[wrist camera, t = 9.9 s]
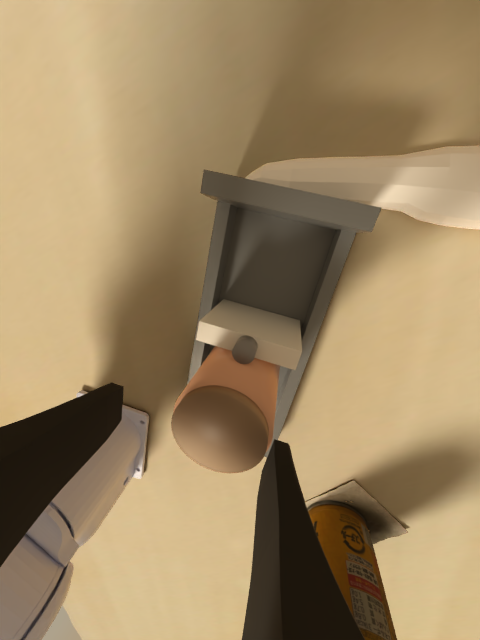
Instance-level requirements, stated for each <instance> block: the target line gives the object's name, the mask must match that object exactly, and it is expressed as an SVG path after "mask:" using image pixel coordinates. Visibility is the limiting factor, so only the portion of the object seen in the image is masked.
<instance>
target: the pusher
mask: <svg viewBox="0 0 480 640" xmlns="http://www.w3.org/2000/svg"><path fill="white" fill-rule="evenodd" d="M196 340H198V341H201V342H204V343H207V344H211V345H214V346H217V347H221V348H224V349H227V350H230V351H232V356H233V358H234V359H235V361H237V362H238V363H240V364H249V363H251V362H252V361H253V360H254V358H257V359H260V360H263V361H266V362H270V363H273V364H276V365H280V366H283V367H286V368H289V369H293V370H296V367H297V365H298V362H299V359H300V356H301V354H302V342H301V329H300V320H297V319H293V318H290V317H286V316H282V315H279V314H275V313H272V312H268V311H264V310H261V309H257V308H254V307H250V306H247V305H243V304H239V303H236V302H232V301H229V300H225V299H223V300H222V301H221V302H220V303H219V304H218V305H216V306H215V307H214V308H213V309H212V310H211V311H210V312H209V313H208V314H206V315H205V316H204V317H203V318H202V319H201V320H200V321H199V325H198V331H197V337H196Z"/></svg>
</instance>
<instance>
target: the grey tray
mask: <svg viewBox="0 0 480 640" xmlns="http://www.w3.org/2000/svg"><path fill="white" fill-rule="evenodd" d="M201 194H204V195H206V196H208V197H210V198H212V199H214V200H216V201H218V202H217V208H216V214H215V220H214V226H213V232H212V238H211V244H210V250H209V256H208V262H207V268H206V274H205V280H204V286H203V292H202V298H201V304H200V310H199V316H198V322H197V328H196V334H195V340H194V346H193V352H192V358H191V364H190V370H189V376H188V382H187V385H188V383H189V382H190V380H191V379H192V378H193V376H194V375H195V373H196V372H197V371H198V369H199V368H200V366H201V365H202V364H203V362H204V361H205V359H206V358H207V357H208V355H209V354H210V352H211V351H212V350H213V348H214V347H215V346H214V345H211V344H207V343H204V342H201V341H198V340H196V337H197V331H198V325H199V321H200V320H201V319H202V318H203V317H204V316H205V315H206V314H208V313H209V312H210V311H211V310H212V309H213V308H214V307H215V306H216V305H218V304H219V303H220V302H221V301H222V300H223V299H225V300H229V301H232V302H236V303H239V304H243V305H247V306H250V307H254V308H257V309H261V310H264V311H268V312H272V313H275V314H279V315H282V316H286V317H290V318H293V319H297V320H300V329H301V342H302V354H301V356H300V359H299V362H298V365H297V367H296V370H293V369H289V368H286V367H283V366H280V371H279V381H278V391H277V401H276V411H275V420H274V430H273V438H272V442H271V445H270V447H269V449H268V450H267V452H266V453H265V455H264V456H265V457H268V454H269V452H270V449H271V446H272V444H273V441H274V439H276V440H278V438H279V435H280V432H281V430H282V427H283V424H284V422H285V419H286V417H287V414H288V411H289V409H290V406H291V403H292V401H293V398H294V396H295V393H296V390H297V388H298V385H299V382H300V380H301V377H302V374H303V372H304V369H305V367H306V364H307V361H308V359H309V356H310V353H311V351H312V348H313V346H314V343H315V340H316V338H317V335H318V332H319V330H320V327H321V324H322V322H323V319H324V317H325V314H326V311H327V309H328V306H329V303H330V301H331V298H332V296H333V293H334V290H335V288H336V285H337V282H338V280H339V277H340V274H341V272H342V269H343V267H344V264H345V261H346V259H347V256H348V253H349V251H350V248H351V246H352V243H353V240H354V238H355V235H356V233H363V232H372V230H373V228H374V225H375V223H376V220H377V218H378V215H379V213H380V210H381V207H376V206H371V205H367V204H362V203H357V202H353V201H348V200H343V199H339V198H334V197H329V196H325V195H320V194H315V193H311V192H306V191H301V190H297V189H292V188H288V187H283V186H278V185H274V184H269V183H264V182H260V181H255V180H250V179H246V178H241V177H236V176H232V175H227V174H222V173H218V172H213V171H208V170H204V173H203V180H202V187H201Z"/></svg>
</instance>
